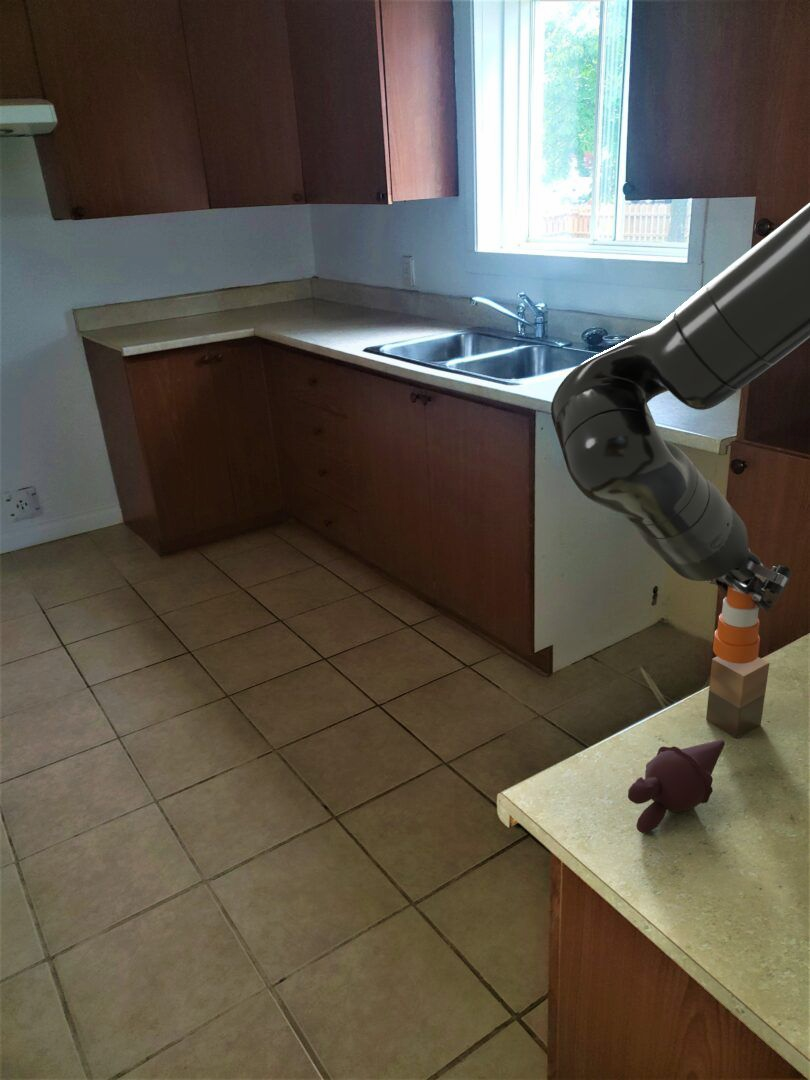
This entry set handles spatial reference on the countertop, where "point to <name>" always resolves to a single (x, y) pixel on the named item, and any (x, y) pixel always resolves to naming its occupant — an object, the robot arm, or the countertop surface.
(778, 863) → the countertop surface
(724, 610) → the cone
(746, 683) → the block top
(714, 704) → the block bottom
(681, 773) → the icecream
